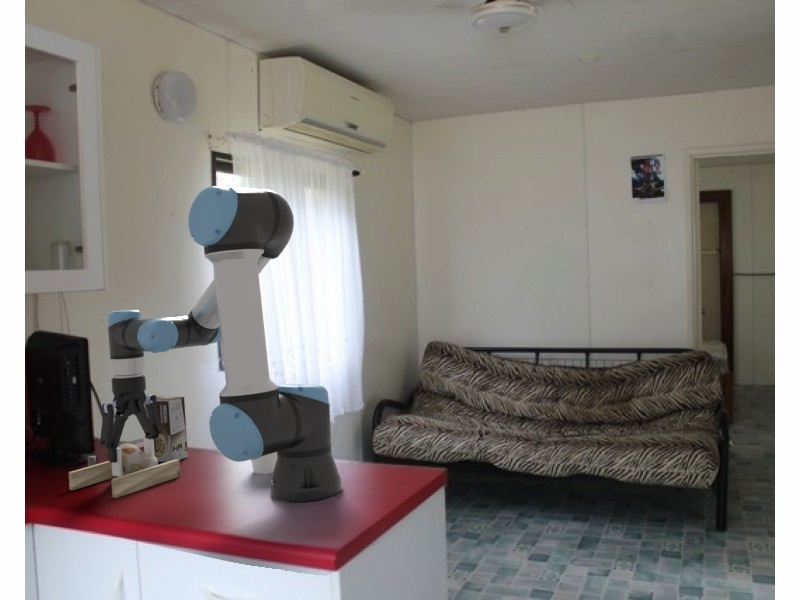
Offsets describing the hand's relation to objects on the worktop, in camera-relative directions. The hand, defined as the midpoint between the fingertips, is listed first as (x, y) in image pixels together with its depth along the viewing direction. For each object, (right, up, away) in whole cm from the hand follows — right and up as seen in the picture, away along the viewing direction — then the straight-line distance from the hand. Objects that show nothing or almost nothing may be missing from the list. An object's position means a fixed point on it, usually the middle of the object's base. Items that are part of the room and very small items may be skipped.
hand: (134, 470), depth 173 cm
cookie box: (+2, -2, +20) cm, 20 cm away
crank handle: (-9, -3, +7) cm, 12 cm away
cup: (+31, -1, +3) cm, 31 cm away
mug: (+1, -1, +1) cm, 1 cm away
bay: (-1, -2, -2) cm, 3 cm away
